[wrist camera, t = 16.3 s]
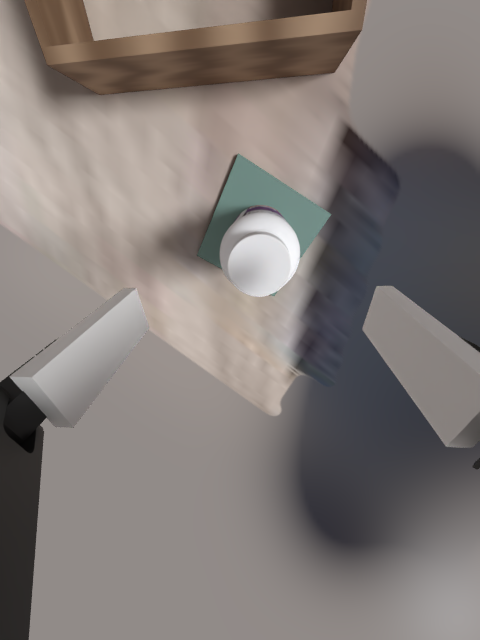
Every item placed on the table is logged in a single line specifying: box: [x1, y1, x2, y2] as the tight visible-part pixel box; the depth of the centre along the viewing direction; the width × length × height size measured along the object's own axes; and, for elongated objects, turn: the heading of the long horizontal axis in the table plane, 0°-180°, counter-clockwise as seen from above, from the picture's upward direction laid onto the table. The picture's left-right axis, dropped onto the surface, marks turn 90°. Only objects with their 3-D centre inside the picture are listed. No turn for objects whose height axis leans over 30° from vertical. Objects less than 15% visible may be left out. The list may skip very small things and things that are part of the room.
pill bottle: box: [220, 205, 300, 297], centre depth 24 cm, size 8×8×14 cm
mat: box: [197, 154, 331, 296], centre depth 31 cm, size 14×14×1 cm
